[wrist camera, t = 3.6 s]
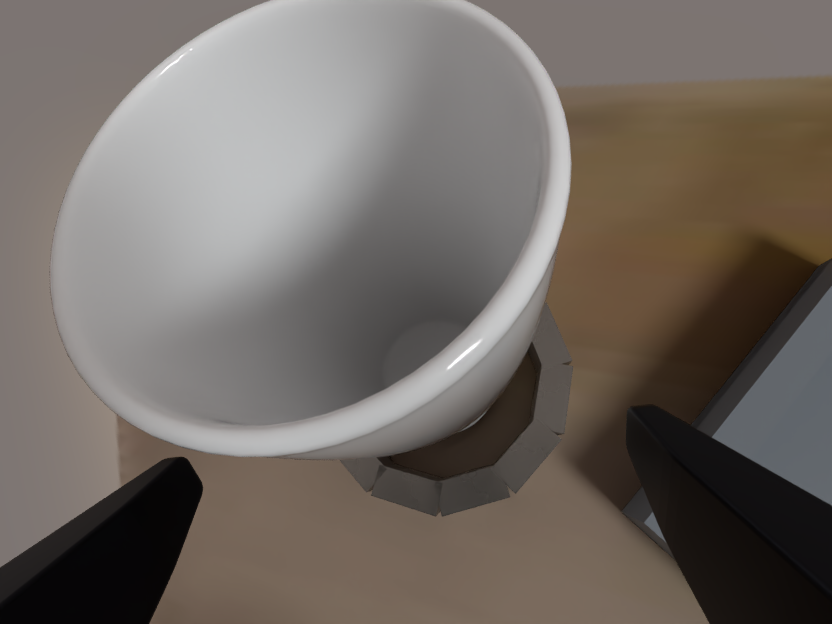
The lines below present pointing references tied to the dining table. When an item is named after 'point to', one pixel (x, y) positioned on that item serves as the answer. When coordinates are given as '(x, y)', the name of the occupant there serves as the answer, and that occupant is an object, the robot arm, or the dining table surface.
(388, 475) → the holder ring
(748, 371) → the tray
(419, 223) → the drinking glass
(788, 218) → the dining table surface
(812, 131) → the dining table surface
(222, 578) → the dining table surface
